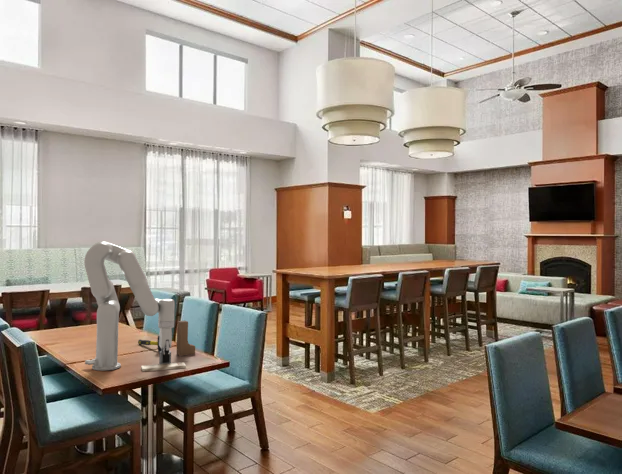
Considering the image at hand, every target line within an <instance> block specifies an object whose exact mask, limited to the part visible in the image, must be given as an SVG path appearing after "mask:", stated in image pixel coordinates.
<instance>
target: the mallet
mask: <svg viewBox="0 0 622 474" xmlns="http://www.w3.org/2000/svg"><path fill="white" fill-rule="evenodd" d="M137 343H138V345H139V346H140V345H144V346H157V351H158V353H159V354H160V351H162V349H161V348H160V346H159V335H158V336H157V341H156V340H147V339H138V342H137Z"/></svg>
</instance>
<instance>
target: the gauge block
mask: <svg viewBox="0 0 622 474" xmlns="http://www.w3.org/2000/svg"><path fill="white" fill-rule="evenodd" d="M169 351H170V362H167V363H163V351H160V353H159V359H158V361H159V364H170V363H172V352H171V350H169Z"/></svg>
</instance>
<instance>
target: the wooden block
mask: <svg viewBox="0 0 622 474" xmlns="http://www.w3.org/2000/svg"><path fill="white" fill-rule="evenodd" d="M176 322H177V327H176V328H177V329H176V331H177V333H176V355H177V356H179V357H182V356H184V357H185V356H190V355H195V354H196V345H193V344H192V343H191V344H190V343H189V339H188V337H189V321H187V320H178V321H176Z"/></svg>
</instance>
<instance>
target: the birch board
mask: <svg viewBox="0 0 622 474" xmlns="http://www.w3.org/2000/svg"><path fill="white" fill-rule="evenodd" d="M186 368H187V364H185V362H174V363H173V362H171V363H170V364H148V365H147V364H145V365H141V366H140V370H141V371H142V372H153V371H163V370H166V371H167V370H176V369H177V370H178V369H186Z"/></svg>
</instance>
